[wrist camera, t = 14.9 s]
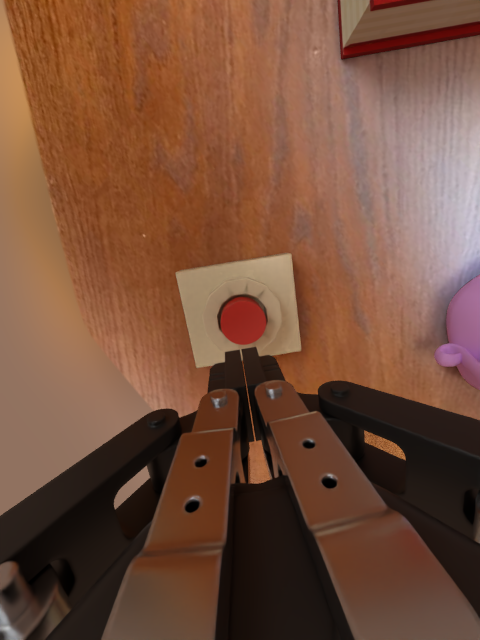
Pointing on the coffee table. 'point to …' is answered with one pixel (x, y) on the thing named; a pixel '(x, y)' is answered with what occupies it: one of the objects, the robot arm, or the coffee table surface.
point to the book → (403, 23)
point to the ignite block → (232, 282)
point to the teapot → (463, 333)
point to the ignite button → (243, 321)
